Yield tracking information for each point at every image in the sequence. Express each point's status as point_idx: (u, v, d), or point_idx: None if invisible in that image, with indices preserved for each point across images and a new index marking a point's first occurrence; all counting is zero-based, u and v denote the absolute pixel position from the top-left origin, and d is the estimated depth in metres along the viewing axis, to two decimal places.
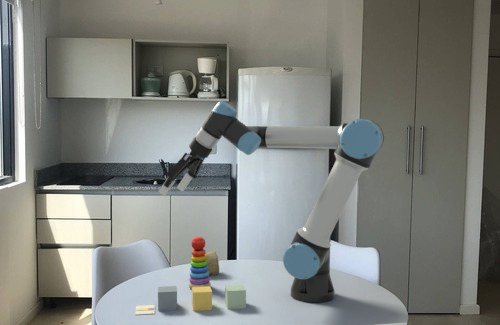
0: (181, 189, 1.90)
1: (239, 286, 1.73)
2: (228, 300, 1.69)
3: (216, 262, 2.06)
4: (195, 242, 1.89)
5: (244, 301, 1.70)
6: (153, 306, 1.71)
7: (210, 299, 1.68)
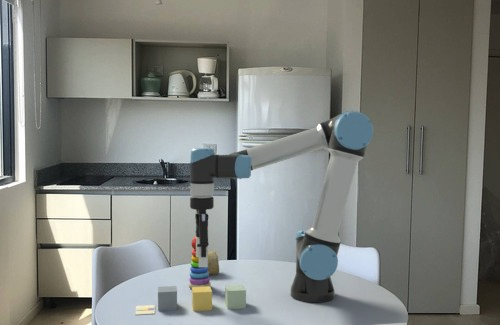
0: None
1: (239, 286, 1.73)
2: (228, 300, 1.69)
3: (216, 262, 2.06)
4: (195, 242, 1.89)
5: (244, 301, 1.70)
6: (153, 306, 1.71)
7: (210, 299, 1.68)
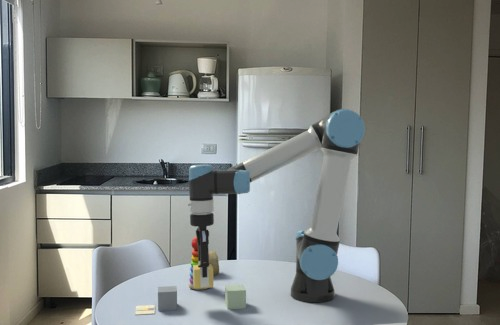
0: None
1: (239, 286, 1.73)
2: (228, 300, 1.69)
3: (216, 262, 2.06)
4: (195, 242, 1.89)
5: (244, 301, 1.70)
6: (153, 306, 1.71)
7: (211, 276, 1.68)
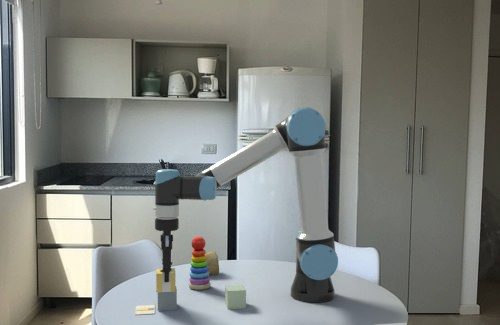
0: None
1: (239, 286, 1.73)
2: (228, 300, 1.69)
3: (216, 262, 2.06)
4: (195, 242, 1.89)
5: (244, 301, 1.70)
6: (153, 306, 1.71)
7: (173, 280, 1.68)
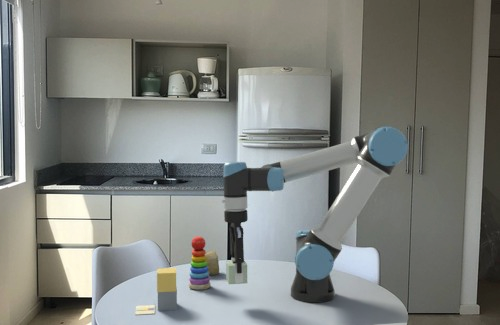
0: None
1: None
2: (229, 275, 1.69)
3: (216, 262, 2.06)
4: (195, 242, 1.89)
5: (245, 276, 1.69)
6: (153, 306, 1.71)
7: (174, 280, 1.68)
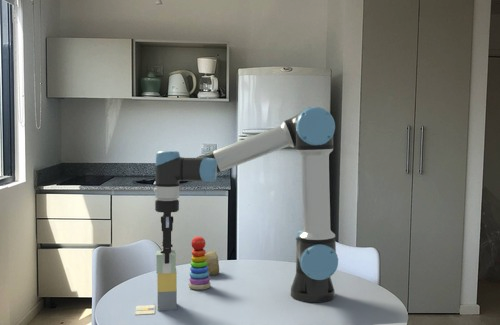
0: None
1: None
2: (157, 264, 1.67)
3: (216, 262, 2.06)
4: (195, 242, 1.89)
5: (174, 265, 1.67)
6: (153, 306, 1.71)
7: (174, 280, 1.68)
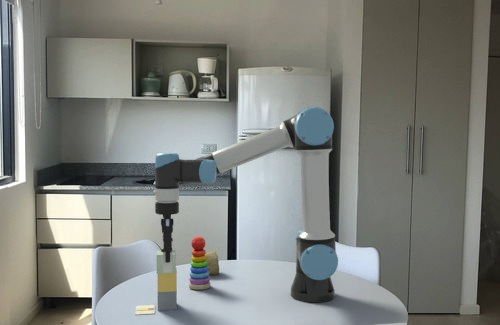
0: None
1: None
2: (157, 264, 1.66)
3: (216, 262, 2.06)
4: (195, 242, 1.89)
5: (174, 265, 1.67)
6: (153, 306, 1.71)
7: (175, 280, 1.68)
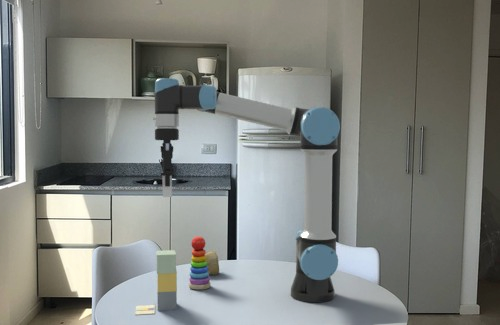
0: None
1: (170, 251, 1.71)
2: (157, 264, 1.66)
3: (216, 262, 2.06)
4: (195, 242, 1.89)
5: (174, 265, 1.67)
6: (153, 306, 1.71)
7: (175, 280, 1.68)
